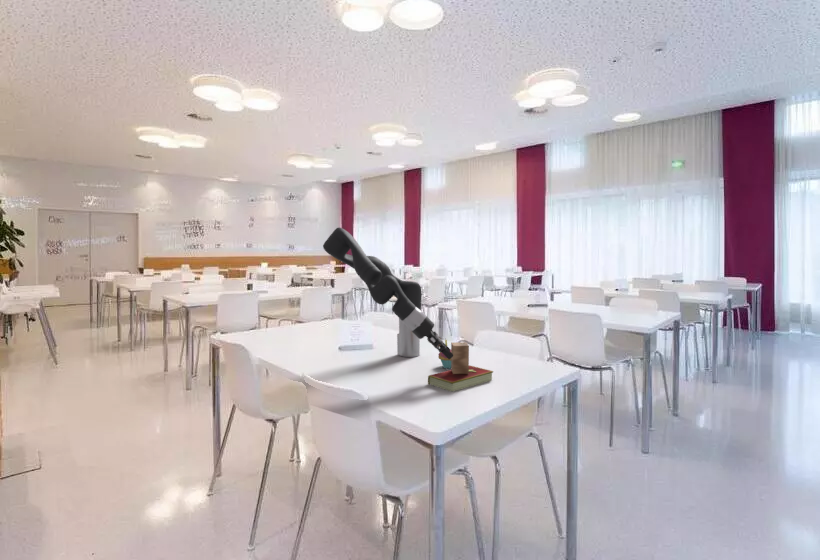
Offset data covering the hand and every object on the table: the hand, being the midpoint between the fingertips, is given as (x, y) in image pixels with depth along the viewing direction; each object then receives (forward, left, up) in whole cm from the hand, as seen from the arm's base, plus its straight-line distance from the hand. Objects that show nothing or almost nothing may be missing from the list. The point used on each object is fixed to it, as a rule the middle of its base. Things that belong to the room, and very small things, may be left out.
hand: (449, 354), depth 162 cm
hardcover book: (+4, +2, -11) cm, 11 cm away
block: (+3, +2, -6) cm, 7 cm away
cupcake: (-12, +17, -10) cm, 23 cm away
